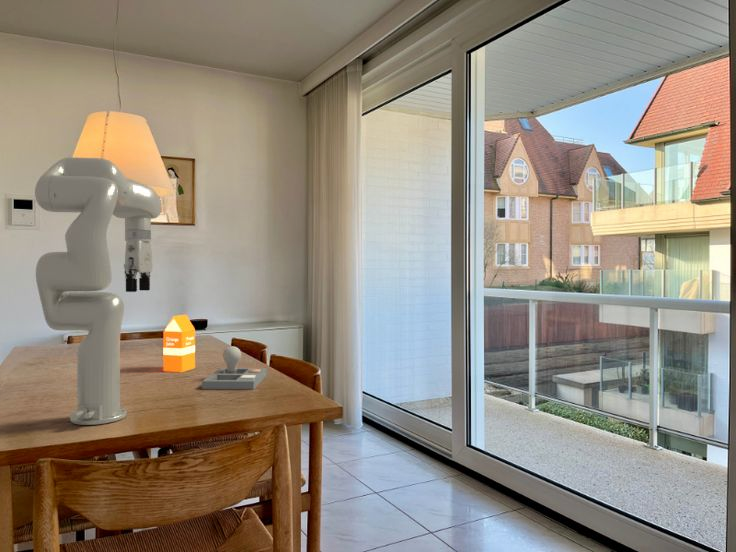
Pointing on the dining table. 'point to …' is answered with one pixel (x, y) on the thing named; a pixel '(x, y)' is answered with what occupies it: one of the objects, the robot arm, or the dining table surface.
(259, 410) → the dining table surface
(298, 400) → the dining table surface
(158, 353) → the dining table surface
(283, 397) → the dining table surface
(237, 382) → the socket board
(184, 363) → the orange juice
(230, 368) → the lightbulb
